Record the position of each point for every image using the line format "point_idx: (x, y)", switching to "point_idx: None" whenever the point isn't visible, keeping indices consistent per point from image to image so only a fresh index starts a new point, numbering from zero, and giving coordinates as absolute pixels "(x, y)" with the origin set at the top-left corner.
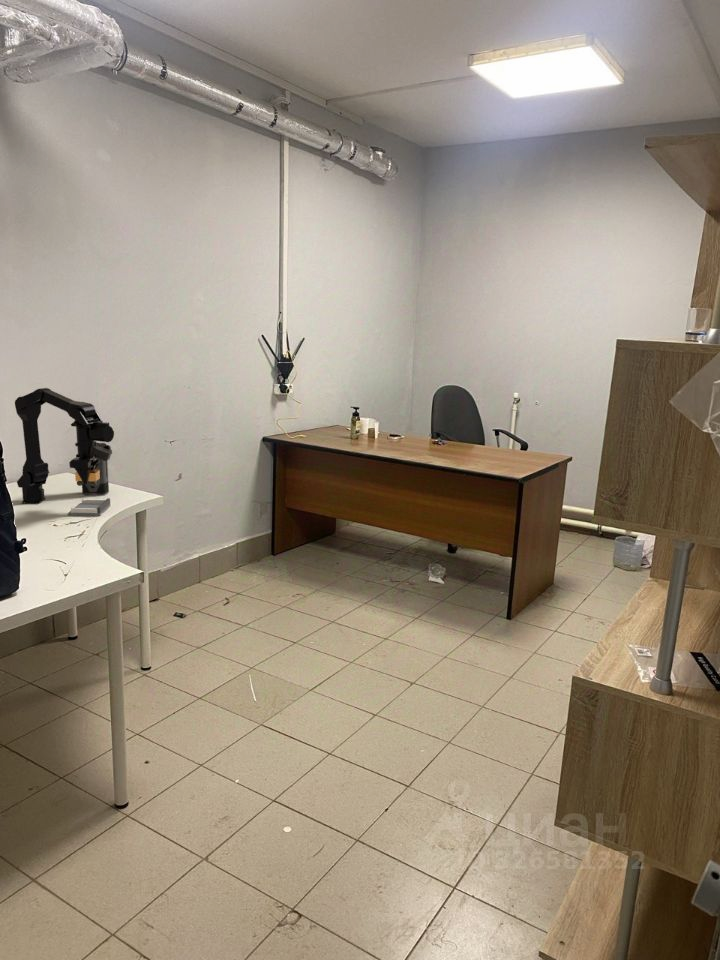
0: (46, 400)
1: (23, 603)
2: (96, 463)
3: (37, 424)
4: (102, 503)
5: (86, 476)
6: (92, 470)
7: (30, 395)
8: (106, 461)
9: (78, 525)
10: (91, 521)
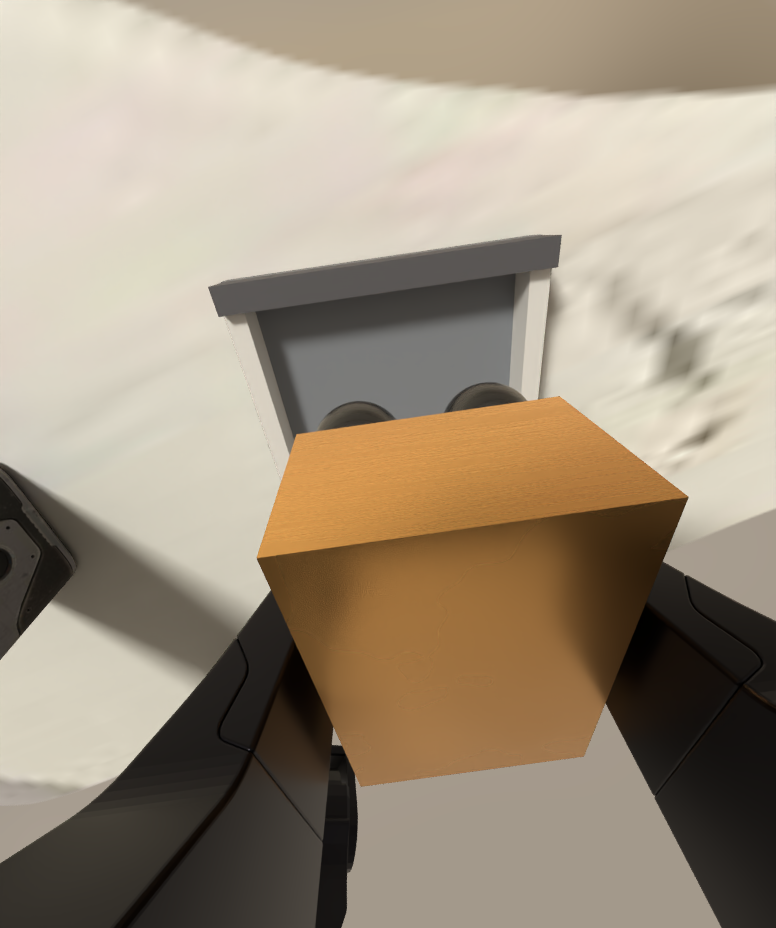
0: None
1: None
2: (143, 909)
3: None
4: (409, 279)
5: (668, 578)
6: (363, 658)
7: None
8: None
9: (754, 298)
10: (674, 243)
